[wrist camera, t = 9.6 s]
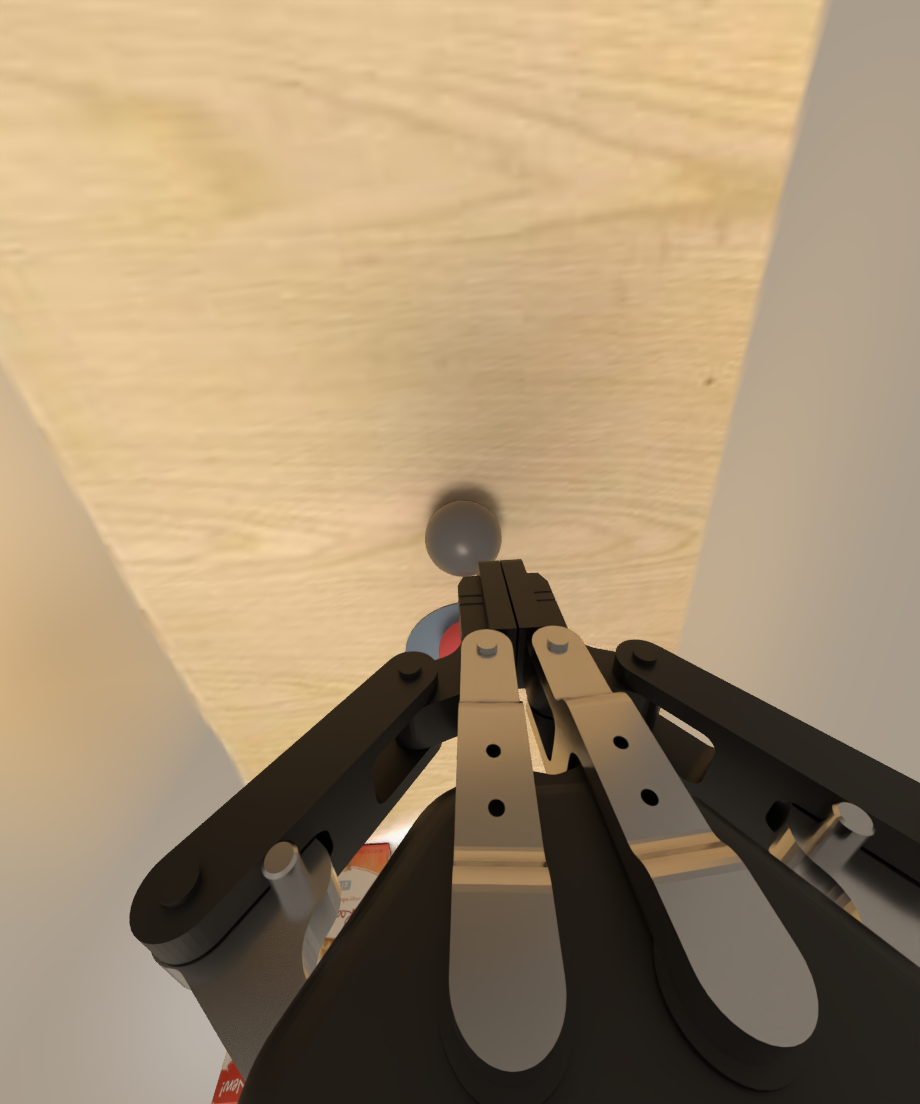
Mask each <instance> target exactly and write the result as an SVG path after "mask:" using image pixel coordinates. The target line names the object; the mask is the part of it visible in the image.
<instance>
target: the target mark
mask: <svg viewBox="0 0 920 1104" xmlns="http://www.w3.org/2000/svg"><path fill="white" fill-rule="evenodd" d="M457 622H459V603H456V604H451V605H448V606H445V607H442V608H440V609H438V610H435V611H434V612H432V613H430V614H429V615H427V616H426V617H425V618H423V619H422V620H421V621H420V622H419V623H418V624H417V625H416V626H415V628H414V629H413V630H412V632H411V634H410V636H409V638H408V641H407V645H406V652H409V651H418V652H423V653H426V654H428V655H429V656H431V657H432V658H433V659H434V660H437V659H439V645H440V641H441V639H442V636H443V635H444V633H445V632H446V630H447V629H448V628H449V627H450V626H452V625H453V624H455V623H457Z"/></svg>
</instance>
